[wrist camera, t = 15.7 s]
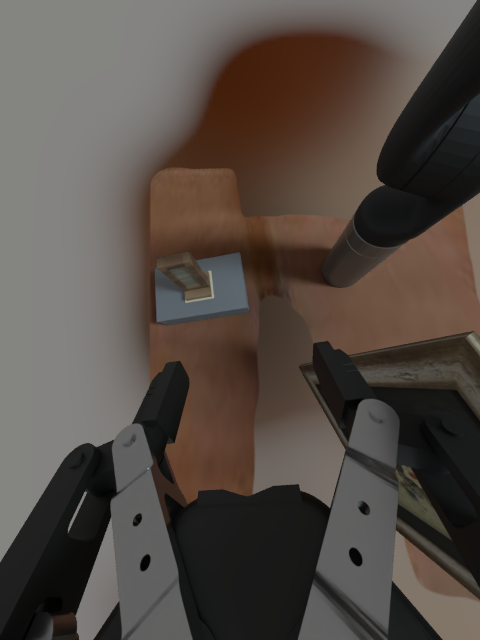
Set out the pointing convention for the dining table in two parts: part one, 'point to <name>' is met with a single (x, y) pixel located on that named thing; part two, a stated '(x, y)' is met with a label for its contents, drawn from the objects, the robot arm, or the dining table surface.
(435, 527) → the picture frame
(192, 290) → the walnut frame
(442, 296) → the dining table surface
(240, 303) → the display step
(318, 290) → the dining table surface
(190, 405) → the dining table surface
